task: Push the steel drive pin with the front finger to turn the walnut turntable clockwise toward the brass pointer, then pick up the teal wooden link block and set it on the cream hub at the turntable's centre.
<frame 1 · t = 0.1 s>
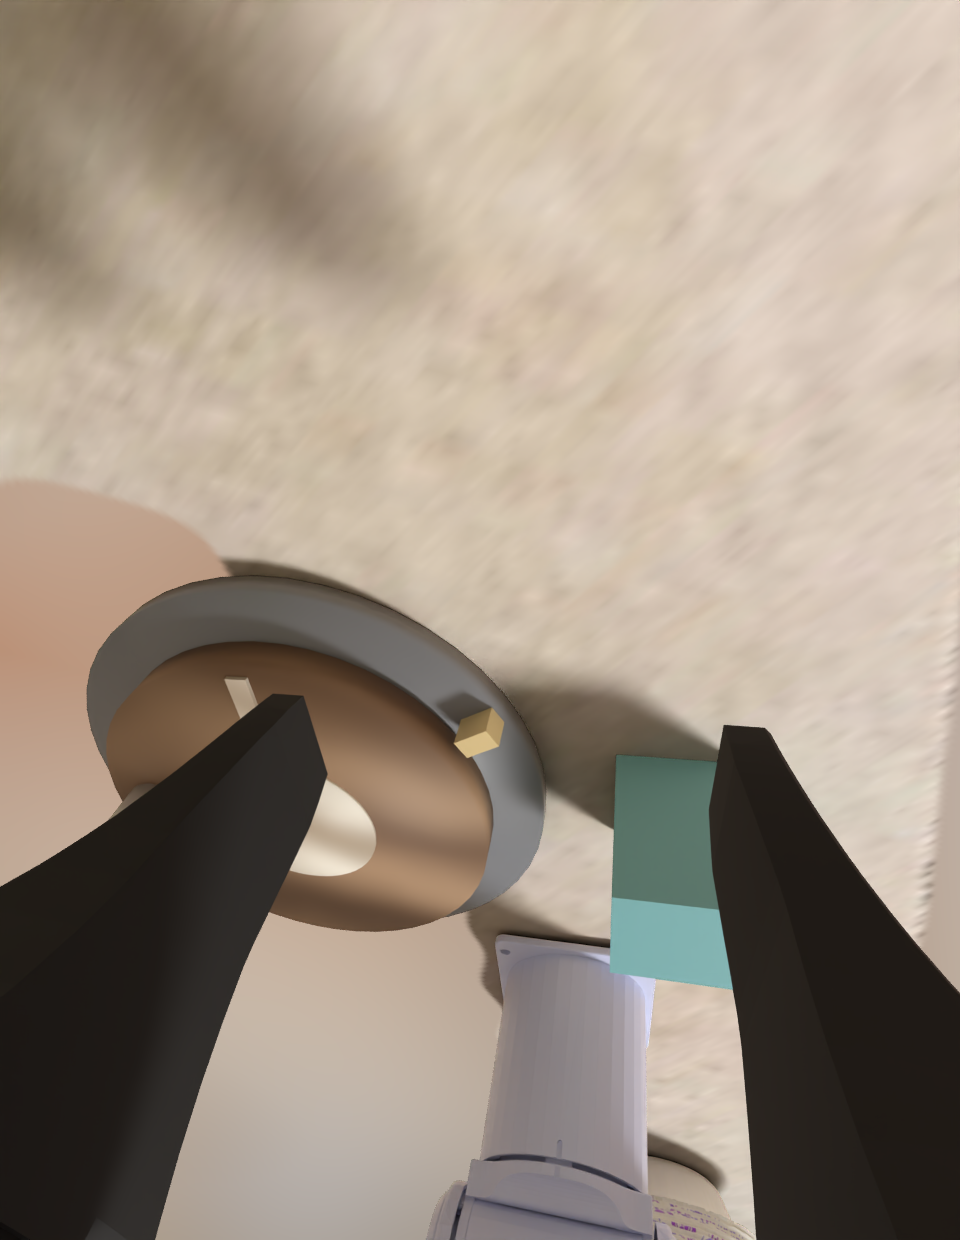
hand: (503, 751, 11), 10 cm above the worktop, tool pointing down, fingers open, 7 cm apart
link block: (673, 798, 26), on the worktop
turntable base: (319, 770, 29), on the worktop
turntable: (277, 852, 26), point 4 cm above the worktop, hinge at 0.0°
paper bowls: (646, 1172, 50), on the worktop
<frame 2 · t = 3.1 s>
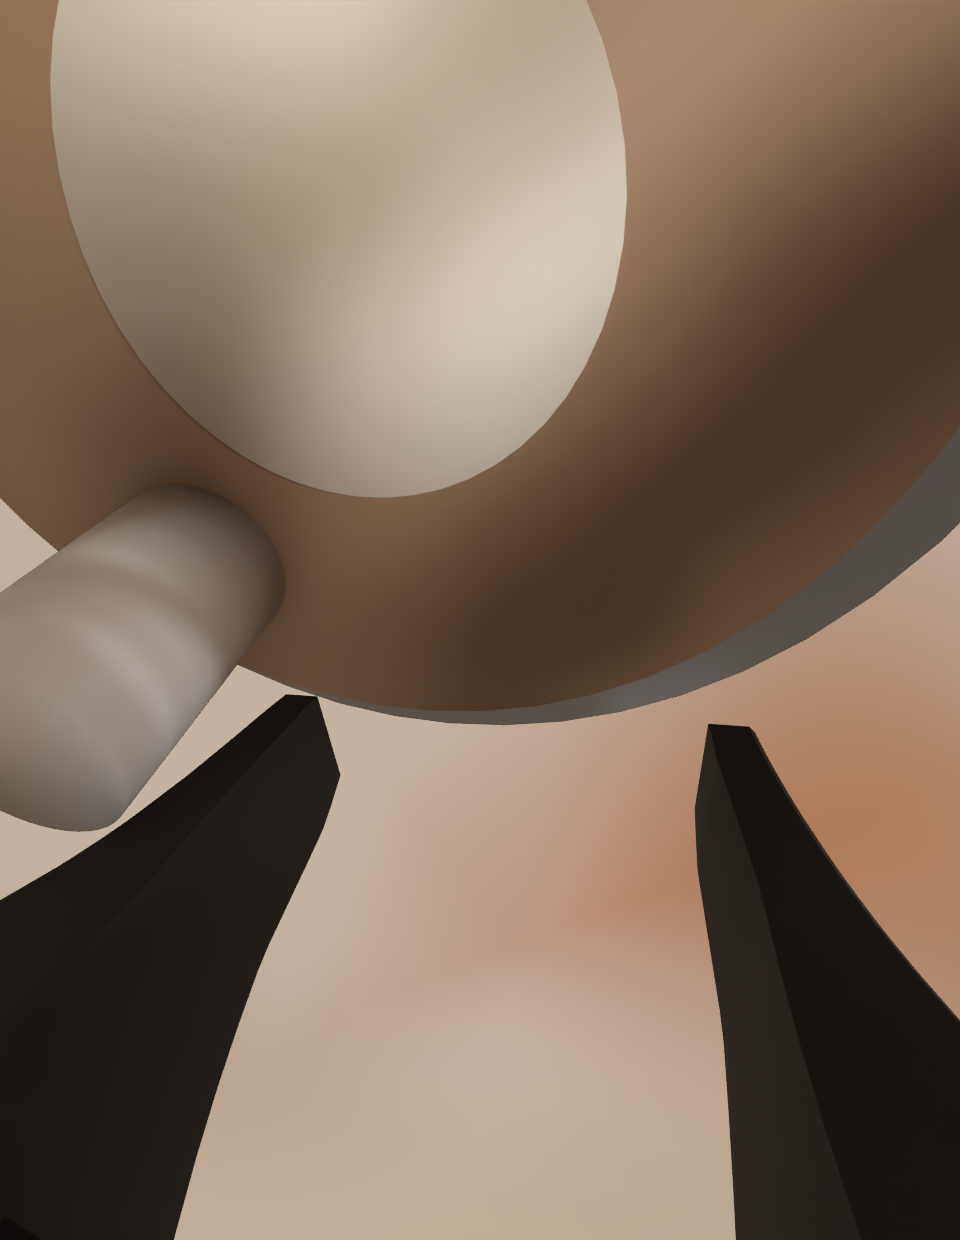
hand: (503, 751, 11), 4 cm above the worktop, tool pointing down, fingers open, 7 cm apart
turntable base: (397, 210, 10), on the worktop
turntable: (280, 244, 7), point 4 cm above the worktop, hinge at -5.9°, touching gripper
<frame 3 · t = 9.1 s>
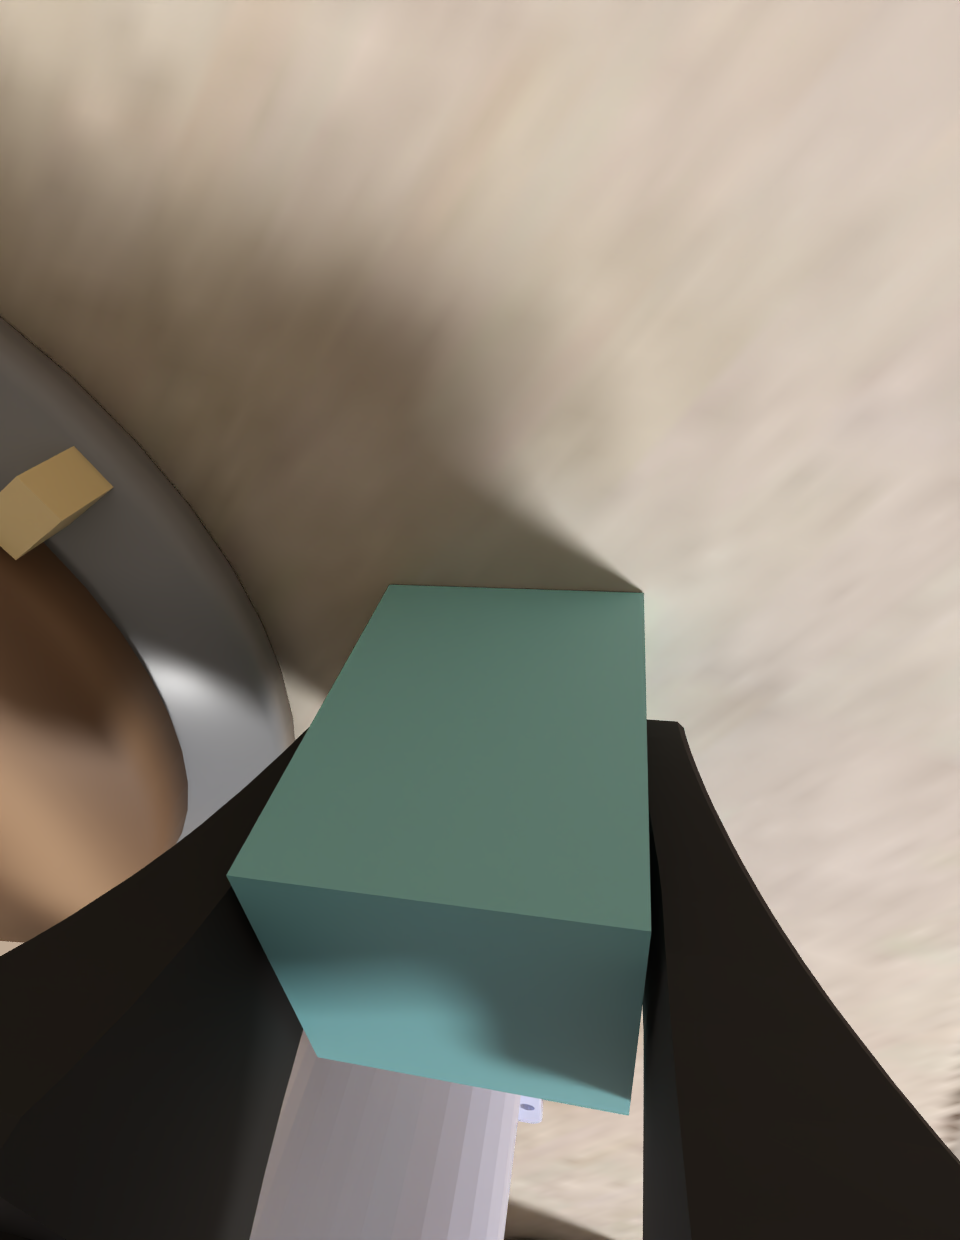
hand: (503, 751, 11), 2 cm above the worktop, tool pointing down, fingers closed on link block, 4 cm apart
link block: (517, 686, 13), on the worktop, touching gripper
when the fingers open (6 cm above the worktop, at t = 12.6 s): link block drops 1 cm, resting on turntable.
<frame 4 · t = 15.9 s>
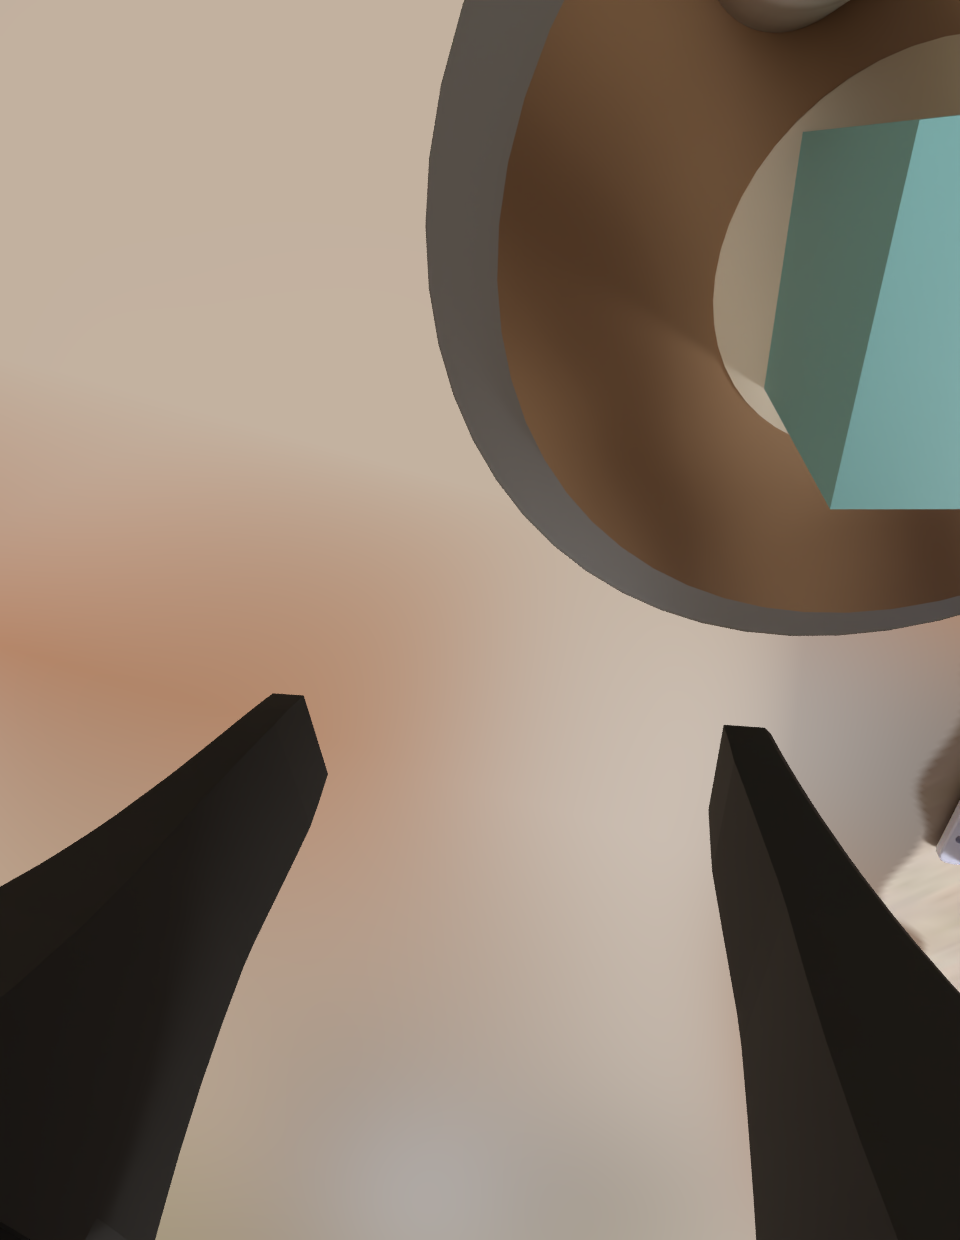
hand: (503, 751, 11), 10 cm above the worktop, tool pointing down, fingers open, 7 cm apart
link block: (907, 263, 13), point 3 cm above the worktop, touching turntable
turntable base: (864, 254, 15), on the worktop
turntable: (931, 285, 12), point 4 cm above the worktop, hinge at -62.2°, touching link block
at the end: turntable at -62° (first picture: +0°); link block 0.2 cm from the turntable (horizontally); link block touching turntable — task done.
